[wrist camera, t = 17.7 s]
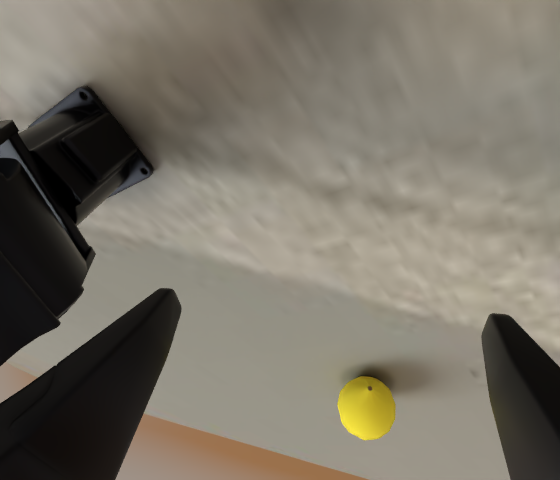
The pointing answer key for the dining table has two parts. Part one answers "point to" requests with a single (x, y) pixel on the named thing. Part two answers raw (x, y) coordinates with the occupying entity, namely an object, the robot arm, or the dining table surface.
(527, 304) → the dining table surface
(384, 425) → the lemon
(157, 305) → the robot arm
